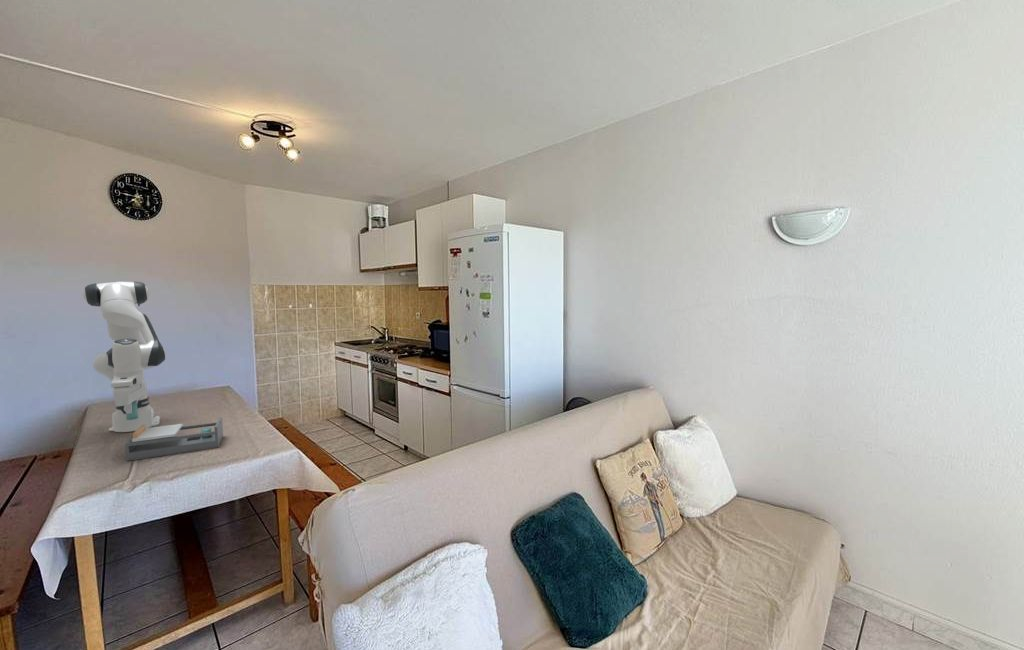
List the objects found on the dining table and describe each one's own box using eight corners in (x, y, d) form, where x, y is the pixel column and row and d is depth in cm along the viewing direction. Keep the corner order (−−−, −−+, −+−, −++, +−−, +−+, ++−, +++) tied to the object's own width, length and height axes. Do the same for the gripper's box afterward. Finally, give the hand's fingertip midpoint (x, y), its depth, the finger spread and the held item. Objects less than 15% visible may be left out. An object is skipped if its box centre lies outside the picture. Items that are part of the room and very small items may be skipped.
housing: (138, 448, 176) (136, 427, 175) (223, 436, 190) (222, 417, 190) (126, 460, 163) (124, 438, 162) (218, 447, 177) (217, 426, 176)
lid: (143, 430, 176) (143, 423, 176) (183, 425, 183) (182, 419, 183) (132, 442, 163) (131, 434, 163) (175, 436, 170) (174, 429, 170)
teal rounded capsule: (128, 418, 171) (126, 402, 170) (139, 416, 172) (138, 401, 172) (125, 420, 168) (123, 404, 167) (136, 419, 169) (135, 403, 169)
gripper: (128, 374, 176) (130, 406, 177) (108, 384, 158) (112, 419, 159) (147, 373, 179) (149, 404, 180) (130, 382, 161) (133, 416, 162)
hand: (131, 411), depth 170 cm, fingers closed on teal rounded capsule, 4 cm apart
